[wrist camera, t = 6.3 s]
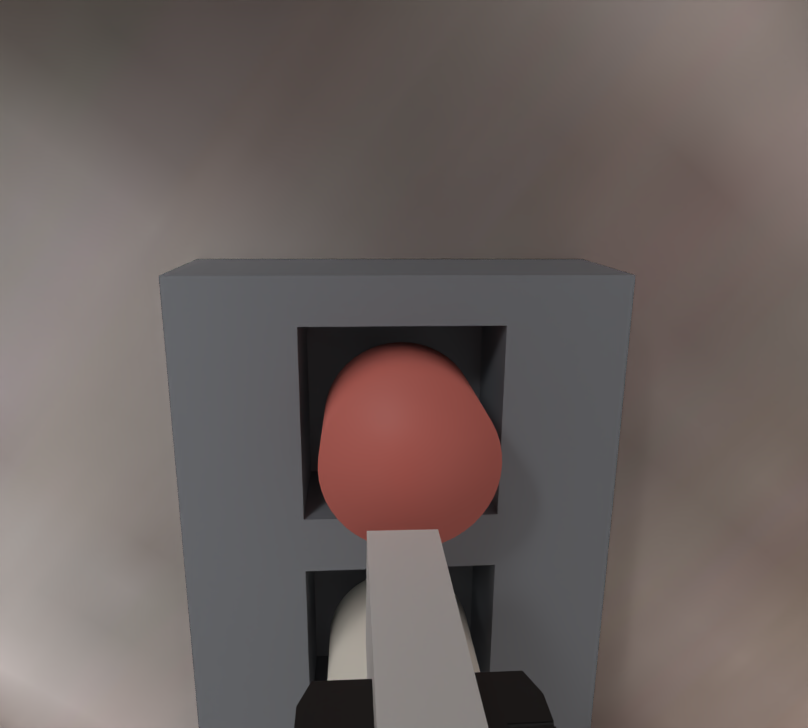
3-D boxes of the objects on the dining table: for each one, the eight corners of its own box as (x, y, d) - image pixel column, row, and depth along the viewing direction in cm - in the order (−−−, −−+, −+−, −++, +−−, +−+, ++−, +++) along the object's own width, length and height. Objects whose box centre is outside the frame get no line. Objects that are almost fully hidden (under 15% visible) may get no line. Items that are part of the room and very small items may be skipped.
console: (238, 826, 25) (217, 940, 22) (196, 259, 20) (158, 275, 16) (540, 807, 26) (572, 914, 22) (582, 259, 21) (635, 275, 17)
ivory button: (331, 692, 20) (326, 791, 17) (328, 573, 19) (322, 654, 16) (464, 685, 21) (486, 782, 17) (468, 568, 20) (492, 647, 16)
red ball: (326, 486, 19) (320, 552, 15) (323, 342, 17) (315, 379, 14) (472, 482, 19) (497, 546, 15) (477, 341, 18) (506, 376, 14)
